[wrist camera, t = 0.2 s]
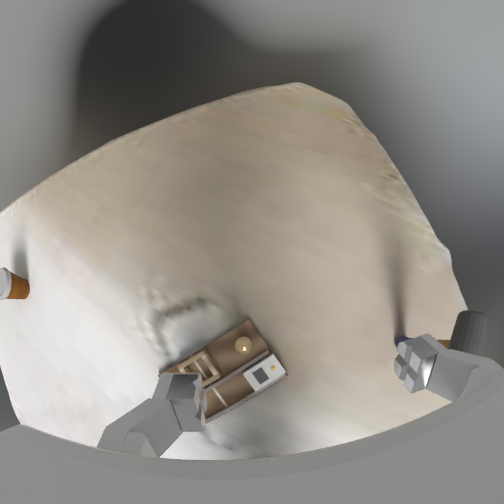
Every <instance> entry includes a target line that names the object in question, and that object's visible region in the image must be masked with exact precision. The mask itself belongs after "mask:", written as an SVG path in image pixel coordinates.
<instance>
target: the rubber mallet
mask: <svg viewBox="0 0 504 504" xmlns="http://www.w3.org/2000/svg"><path fill="white" fill-rule="evenodd" d="M487 322H488V319H487V317H486V316H485V315H484V314H483V313H480V312H477V311H469V310H467V311H462V312H460V313H459V314H458V317H457V320H456V324H455V327H454V330H453V333H452V337H451V340H437V341H438V342H440V343H441V344H442V345H443V346H444V347H445V348H447V349H448V350H449V349H453V350H457V351H461V352H465V353H469V354H473V355H477V356H481V353H482V350H483V345H484V340H485V334H486V328H487ZM409 339H413V338H408V337H405V336H403V337H400V338H399V339H398V340H397V342H396V347H398V344H399V343H400V342H403V341H406V340H409Z"/></svg>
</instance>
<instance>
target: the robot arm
mask: <svg viewBox="0 0 504 504" xmlns="http://www.w3.org/2000/svg"><path fill="white" fill-rule="evenodd" d="M397 352H398V353H399V354H398V356H397V357H396V358H395V362H394V371H395V373H396V376H397V377H398V378H399V379H401V380H403V381H404V386H405V387H406V389H407V390H408V391H409V392H410V394H411V393H414V392H417V391H420V390H423V389H425V388H426V389H427V390H429V391H431V392H433V393H435V394H437V395H439V396H441V397H443V398H446V399H448V400H450V401H452V403H450V404H448V405H446V406H444V407H442V408H440V409H438V410H436V411H434V412H431V413H429V414H427V415H425V416H423V417H420V418H418V419H416V420H413V421H411V422H408V423H406V424H403V425H401V426H398V427H395V428H393V429H390V430H387V431H384V432H381V433H378V434H375V435H372V436H369V437H365V438H362V439H359V440H355V441H352V442H348V443H344V444H340V445H336V446H332V447H327V448H323V449H318V450H313V451H308V452H302V453H296V454H290V455H283V456H275V457H266V458H255V459H241V460H181V459H167V458H159V457H160V456H161V455H162V454H163V453H164V452H165V451H166V450H167V449H168V448H169V447H170V446H171V445H172V444H173V442H174V441H175V440H176V439H177V438H178V437H179V436H180V435H181V434H182V432H197V431H204V428H205V420H206V419H205V415H204V413H205V412H206V411H207V398H206V392H205V389H204V388H203V387H202V382H203V380H202V377H201V374H200V373H162V374H161V375H160V378H159V381H158V384H157V386H156V389H155V392H154V394H153V397H152V399H147V400H146V401H144V402H143V403H141V404H140V405H138V406H137V407H135V408H134V409H132V410H131V411H129V412H128V413H126V414H125V415H123V416H122V417H120V418H119V419H117V420H116V421H114V422H113V423H111V424H110V425H108V426H107V427H106V428H105V430H104V432H103V435H102V437H101V439H100V441H99V443H98V445H97V448H96V447H92V446H88V445H84V444H80V443H77V442H73V441H70V440H66V439H63V438H60V437H57V436H54V435H51V434H48V433H45V432H42V431H40V430H37V429H35V428H32V427H30V426H27V425H22V424H20V425H16V426H14V427H11V428H9V429H7V430H4V431H2V432H0V504H504V369H503V368H502V367H500V366H499V365H498V364H497V363H496V362H494V361H493V360H492V359H489V358H485V357H481V356H477V355H473V354H469V353H465V352H461V351H457V350H453V349H449V350H448V349H447V348H445V347H444V346H443V345H442V344H441V343H440V342H438V341H437V340H436V339H435V338H434V337H432V336H431V335H430V334H424V335H421V336H418V337H416V338H413V339H409V340H406V341H403V342H400V343H399V344H398V347H397Z"/></svg>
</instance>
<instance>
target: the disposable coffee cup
mask: <svg viewBox="0 0 504 504" xmlns="http://www.w3.org/2000/svg"><path fill="white" fill-rule="evenodd" d="M28 294H29V283H28V282H27V280H25V279H23V278H21V277H19V276H17V275H15V274H13V273H11V272H10V271H8V269H6V268H0V299H1V300H3V299H26V298H27V296H28Z"/></svg>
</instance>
